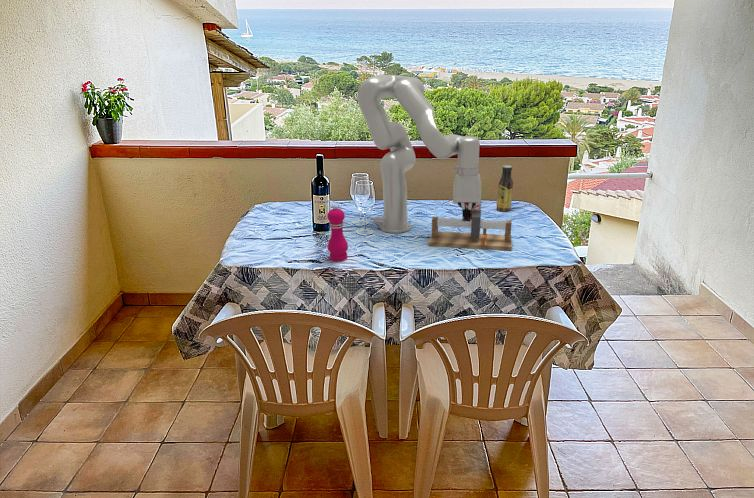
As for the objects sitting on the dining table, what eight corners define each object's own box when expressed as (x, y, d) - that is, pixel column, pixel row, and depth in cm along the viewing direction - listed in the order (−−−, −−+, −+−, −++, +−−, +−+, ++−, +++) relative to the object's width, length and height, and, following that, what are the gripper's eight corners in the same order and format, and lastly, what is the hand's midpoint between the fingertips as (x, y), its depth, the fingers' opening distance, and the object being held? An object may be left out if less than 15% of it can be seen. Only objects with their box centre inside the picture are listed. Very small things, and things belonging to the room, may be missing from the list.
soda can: (479, 227, 211) (481, 198, 207) (461, 226, 213) (462, 198, 208) (480, 221, 218) (481, 193, 213) (462, 220, 219) (463, 193, 215)
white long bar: (437, 226, 195) (437, 220, 194) (437, 223, 197) (438, 217, 196) (505, 229, 190) (505, 223, 189) (505, 227, 192) (505, 221, 191)
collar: (470, 237, 191) (471, 216, 188) (472, 230, 198) (473, 210, 195) (479, 238, 190) (480, 217, 187) (480, 230, 198) (481, 210, 195)
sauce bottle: (493, 208, 233) (496, 165, 226) (506, 207, 235) (509, 163, 227) (501, 212, 227) (504, 168, 220) (513, 211, 229) (517, 166, 222)
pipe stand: (428, 245, 194) (428, 223, 190) (432, 234, 205) (433, 212, 201) (511, 250, 187) (513, 227, 184) (511, 239, 198) (512, 216, 195)
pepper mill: (348, 254, 189) (346, 201, 181) (348, 261, 182) (345, 207, 174) (328, 254, 188) (325, 201, 181) (327, 262, 182) (324, 208, 174)
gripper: (446, 173, 187) (445, 221, 194) (488, 174, 184) (486, 223, 191) (448, 168, 194) (447, 215, 201) (489, 169, 191) (486, 216, 198)
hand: (466, 218), depth 196 cm, fingers closed
